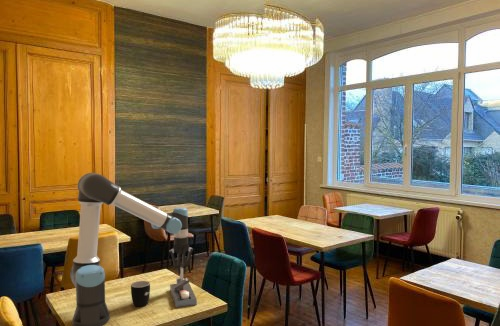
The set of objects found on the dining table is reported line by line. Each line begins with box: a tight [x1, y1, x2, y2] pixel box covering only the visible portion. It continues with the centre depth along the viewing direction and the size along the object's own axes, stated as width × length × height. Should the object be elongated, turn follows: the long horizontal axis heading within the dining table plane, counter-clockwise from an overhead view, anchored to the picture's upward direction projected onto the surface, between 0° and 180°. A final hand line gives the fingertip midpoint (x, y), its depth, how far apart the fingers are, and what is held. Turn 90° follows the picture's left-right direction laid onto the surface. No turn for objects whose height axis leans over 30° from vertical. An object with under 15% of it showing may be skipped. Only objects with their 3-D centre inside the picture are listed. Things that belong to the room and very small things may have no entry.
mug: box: [130, 280, 151, 308], centre depth 184 cm, size 12×9×10 cm
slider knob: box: [175, 276, 181, 284], centre depth 201 cm, size 2×3×3 cm, turn 18°
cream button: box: [181, 291, 189, 300], centre depth 183 cm, size 4×4×3 cm
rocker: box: [174, 277, 190, 290], centre depth 195 cm, size 8×4×1 cm, turn 108°
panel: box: [169, 282, 198, 308], centre depth 191 cm, size 10×24×5 cm, turn 18°
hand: (181, 280), depth 202 cm, fingers closed
